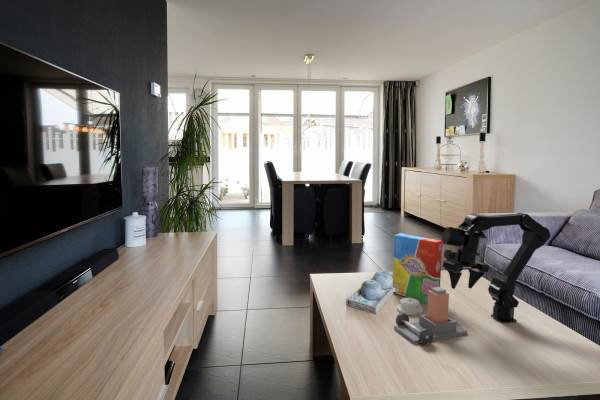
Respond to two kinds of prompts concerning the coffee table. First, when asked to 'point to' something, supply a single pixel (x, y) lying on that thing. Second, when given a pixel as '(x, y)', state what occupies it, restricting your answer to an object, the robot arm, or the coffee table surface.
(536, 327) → the coffee table surface
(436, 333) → the chassis
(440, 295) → the two-tone capped block
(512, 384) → the coffee table surface
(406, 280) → the game box
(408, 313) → the mechanical component
